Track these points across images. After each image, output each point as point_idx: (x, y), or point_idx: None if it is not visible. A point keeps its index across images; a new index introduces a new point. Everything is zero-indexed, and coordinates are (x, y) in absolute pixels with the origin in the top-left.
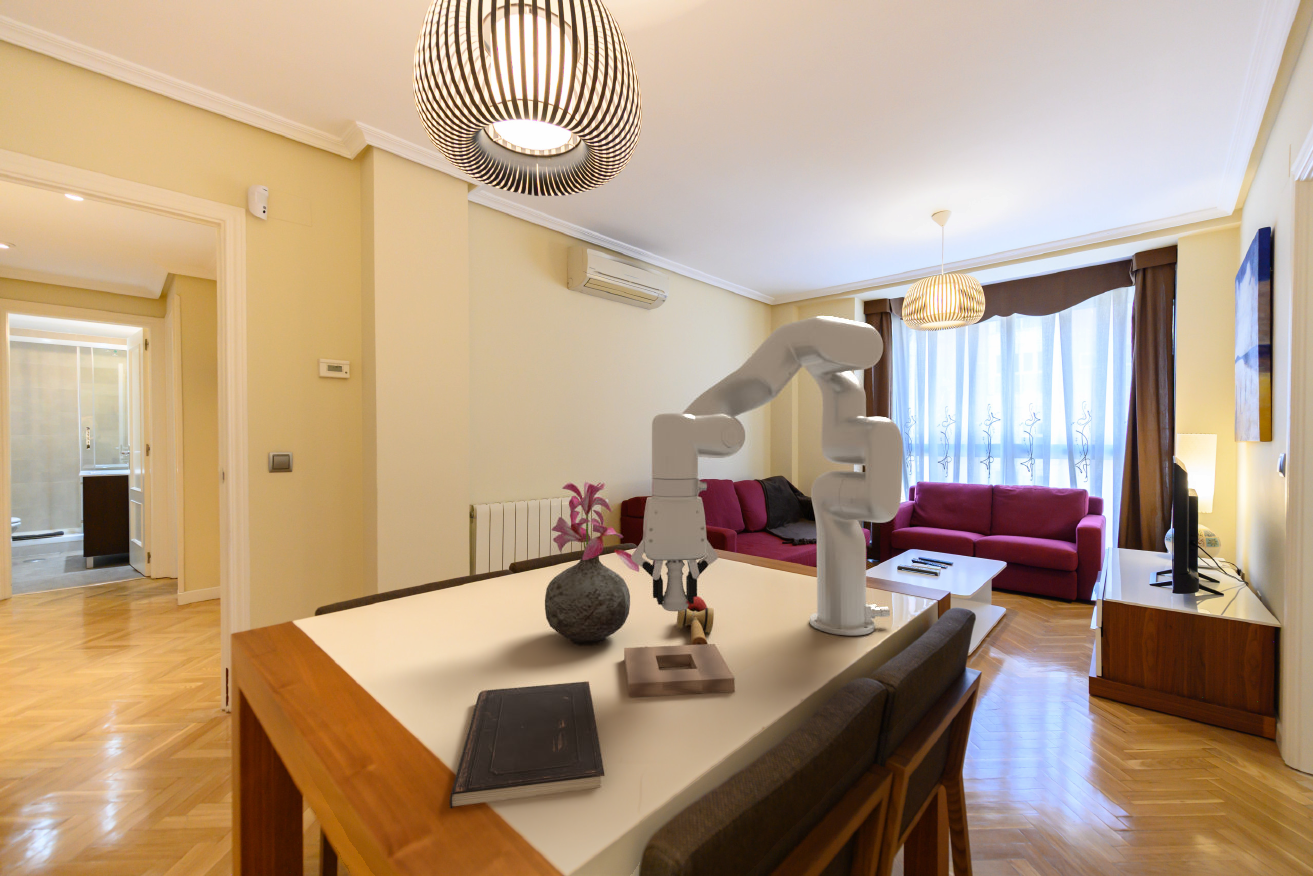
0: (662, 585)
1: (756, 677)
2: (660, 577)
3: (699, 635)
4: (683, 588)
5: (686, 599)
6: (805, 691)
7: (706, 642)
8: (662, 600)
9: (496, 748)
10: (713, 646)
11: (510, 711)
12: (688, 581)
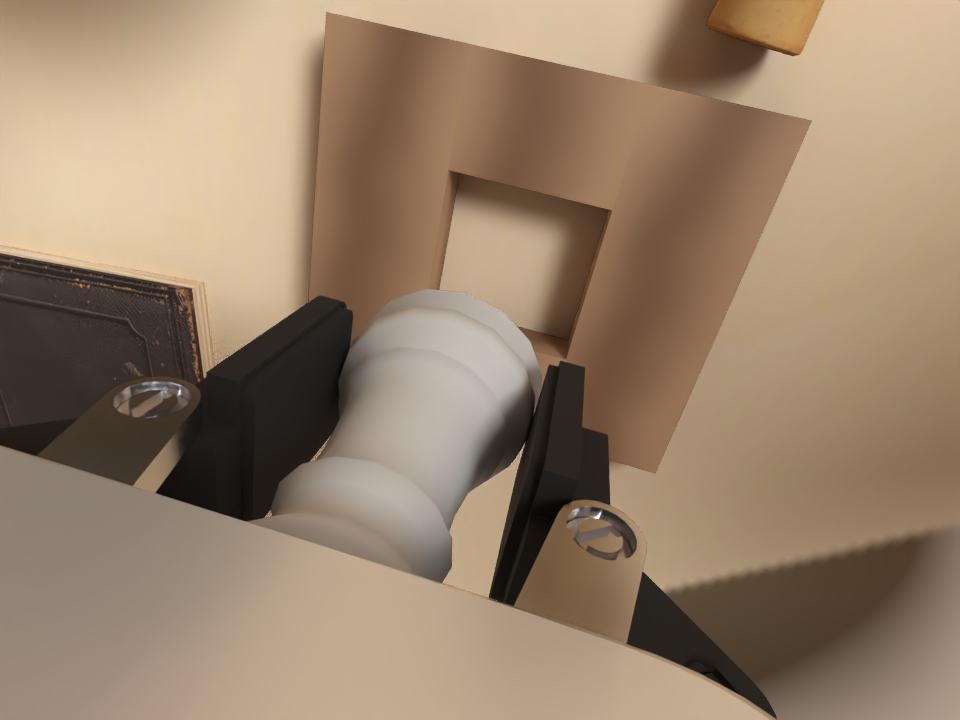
0: (270, 503)
1: (801, 391)
2: (222, 510)
3: (774, 19)
4: (477, 477)
5: (498, 472)
6: (877, 532)
7: (793, 55)
8: (327, 434)
9: None
10: (778, 157)
11: (16, 382)
12: (499, 557)
